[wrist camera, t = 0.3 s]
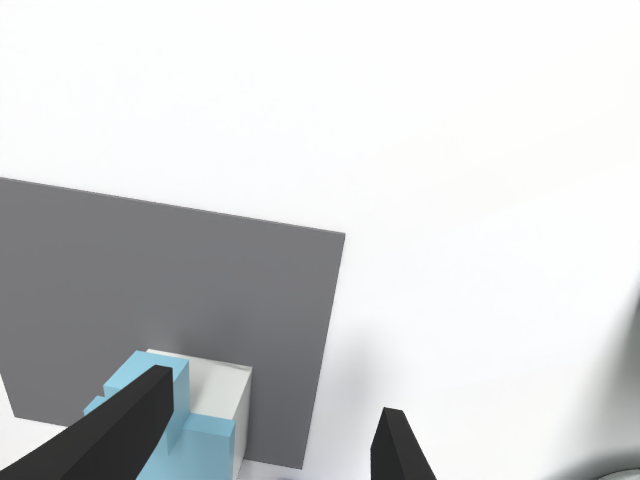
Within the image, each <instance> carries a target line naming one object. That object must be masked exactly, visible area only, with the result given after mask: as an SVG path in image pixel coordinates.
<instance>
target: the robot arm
mask: <svg viewBox="0 0 640 480" xmlns="http://www.w3.org/2000/svg"><path fill="white" fill-rule="evenodd" d="M173 412H174V394H173V368H172V367H166V366H161V365H156V364H155V365H154V366H152V367H151V368H149V369H148V370H147V371H145V372H144V373H143V374H141V375H140V376H139V377H137V378H136V379H135V380H133V381H132V382H131V383H129V384H128V385H127V386H125V387H124V388H123V389H121V390H120V391H118V392H117V393H116V394H114V395H113V396H112V397H110V398H109V399H108V400H106V401H105V402H103V403H102V404H101V405H99V406H98V407H96V408H95V409H94V410H92V411H91V412H90V413H88V414H87V415H85V416H84V417H83V418H81V419H80V420H78V421H77V422H75V423H74V424H72V425H71V426H69V427H68V428H66V429H65V430H63V431H62V432H61V433H59V434H58V435H56V436H55V437H53V438H52V439H50V440H49V441H47V442H46V443H44V444H43V445H41V446H40V447H38V448H37V449H35V450H33V451H32V452H30V453H29V454H27V455H26V456H24V457H22V458H21V459H19V460H18V461H16V462H14V463H13V464H11V465H9V466H8V467H6V468H5V469H3V470H1V471H0V480H136V479H137V477H138V475H139V474H140V472H141V471H142V469H143V467H144V466H145V464H146V463H147V461H148V459H149V458H150V456H151V454H152V453H153V451H154V450H155V448H156V446H157V445H158V443H159V441H160V439H161V437H162V435H163V433H164V431H165V429H166V427H167V425H168V423H169V421H170V419H171V417H172V414H173ZM370 450H371V480H437V479H436V477H435V475H434V473H433V472H432V470H431V468H430V466H429V464H428V462H427V460H426V458H425V456H424V454H423V452H422V450H421V448H420V446H419V444H418V442H417V440H416V438H415V436H414V433H413V431H412V429H411V427H410V425H409V423H408V421H407V418H406V416H405V414H404V413H403V411H402V410H397V409H392V408H386V407H384V408H383V411H382V414H381V417H380V420H379V424H378V427H377V430H376V433H375V436H374V439H373V442H372V445H371V448H370Z"/></svg>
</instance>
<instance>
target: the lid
mask: <svg viewBox="0 0 640 480" xmlns="http://www.w3.org/2000/svg"><path fill="white" fill-rule="evenodd" d="M155 364H156V365H161V366H166V367H172V368H173V394H174V412H173V414H172V417H171V419H170V421H169V423H168V425H167V427H166V429H165V431H164V433H163V435H162V437H161V439H160V441H159V443H158V445H157V446H156V448H155V450H154V451H153V453H152V454H151V456H150V458H149V459H148V461H147V463H146V464H145V466H144V467H143V469H142V471H141V472H140V474H139V475H138V477H137V479H136V480H232V479H233V461H234V443H235V425H236V421H235V420H229V419H223V418H218V417H212V416H207V415H201V414H196V413H190V380H189V360H188V359H182V358H177V357H171V356H165V355H159V354H154V353H148V352H142V351H137V350H136V351H135V352H134V353H133V354H132V356H131V357H130V358H129V359H128V360H127V361H126V362H125V363H124V364H123V365H122V366H121V367H120V368H119V369H118V370H117V371H116V372H115V373H114V375H113V376H112V377H111V378H110V379H109V380H108V381H107V382H106V383H105V384H104V385H103V388H104V394H105V397H101V396H96V397H95V399H94V400H93V401H92V402H91V403H90V404H89V405H88V406H87V407H86V408H85V409H84V410H83V411H84V416H85V415H87V414H88V413H90V412H91V411H92V410H94V409H95V408H96V407H98V406H99V405H101V404H102V403H103V402H105V401H106V400H108V399H109V398H110V397H112V396H113V395H114V394H116V393H117V392H118V391H120V390H121V389H123V388H124V387H125V386H127V385H128V384H129V383H131V382H132V381H133V380H135V379H136V378H137V377H139V376H140V375H141V374H143V373H144V372H145V371H147V370H148V369H149V368H151V367H152V366H154V365H155Z"/></svg>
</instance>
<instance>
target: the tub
mask: <svg viewBox="0 0 640 480" xmlns="http://www.w3.org/2000/svg"><path fill="white" fill-rule="evenodd" d="M146 352H148V353H154V354H159V355H165V356H171V357H177V358H182V359H188V360H189V380H190V413H196V414H201V415H207V416H212V417H218V418H223V419H229V420H235V421H236V425H235V443H234V461H233V479H232V480H236V479H237V476H238V473H239V470H240V466H241V463H242V460H243V457H244V454H245V450H246V445H247V432H248V420H249V407H250V394H251V381H252V368H253V367H249V366H243V365H237V364H232V363H226V362H220V361H214V360H209V359H203V358H197V357H192V356H186V355H180V354H174V353H169V352H163V351H157V350H152V349H148V350H147V351H146Z"/></svg>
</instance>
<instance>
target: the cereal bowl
mask: <svg viewBox="0 0 640 480" xmlns="http://www.w3.org/2000/svg"><path fill="white" fill-rule="evenodd" d="M597 480H640V469H634V470H625V471H620V472H615V473H612V474H609V475H606V476H604V477H601V478H599V479H597Z"/></svg>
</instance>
